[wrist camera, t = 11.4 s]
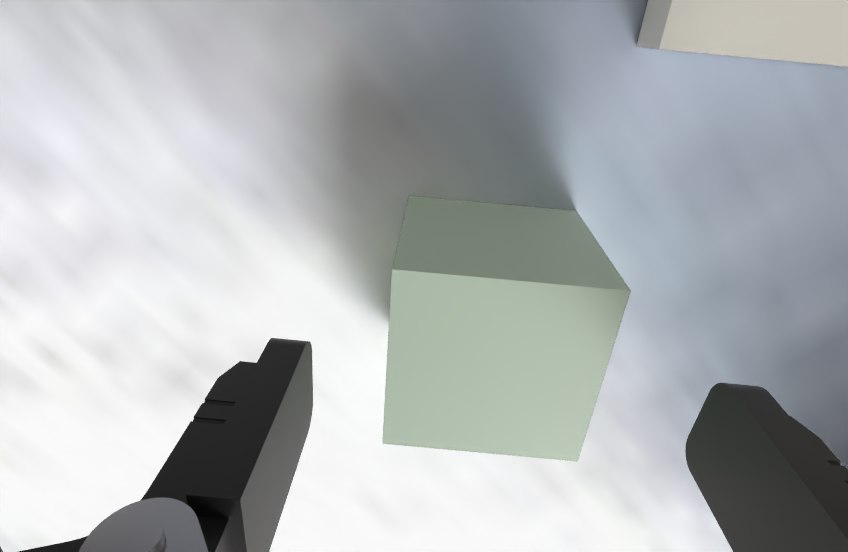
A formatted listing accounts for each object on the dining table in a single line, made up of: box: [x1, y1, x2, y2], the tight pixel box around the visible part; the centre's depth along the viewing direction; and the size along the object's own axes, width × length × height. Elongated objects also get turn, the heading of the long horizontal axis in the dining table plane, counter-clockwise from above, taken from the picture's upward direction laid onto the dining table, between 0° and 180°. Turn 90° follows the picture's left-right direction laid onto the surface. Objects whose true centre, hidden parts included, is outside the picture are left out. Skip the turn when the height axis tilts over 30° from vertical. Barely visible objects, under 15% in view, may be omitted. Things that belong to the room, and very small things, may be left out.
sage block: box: [383, 196, 631, 461], centre depth 14 cm, size 5×5×5 cm
